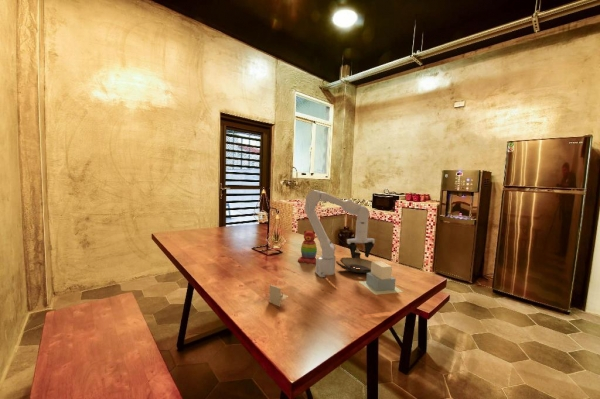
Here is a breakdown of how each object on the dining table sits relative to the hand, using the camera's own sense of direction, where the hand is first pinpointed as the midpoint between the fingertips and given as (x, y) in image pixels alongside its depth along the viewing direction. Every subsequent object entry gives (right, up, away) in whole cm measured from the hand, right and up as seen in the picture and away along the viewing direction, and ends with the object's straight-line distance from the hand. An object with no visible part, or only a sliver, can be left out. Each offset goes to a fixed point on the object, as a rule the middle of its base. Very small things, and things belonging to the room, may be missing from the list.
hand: (359, 257), depth 130 cm
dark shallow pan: (+2, -10, +12) cm, 16 cm away
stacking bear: (-25, -8, +24) cm, 35 cm away
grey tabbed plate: (-39, -12, -29) cm, 50 cm away
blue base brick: (+7, -11, -12) cm, 17 cm away
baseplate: (+6, -12, -12) cm, 18 cm away
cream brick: (+7, -6, -12) cm, 15 cm away
